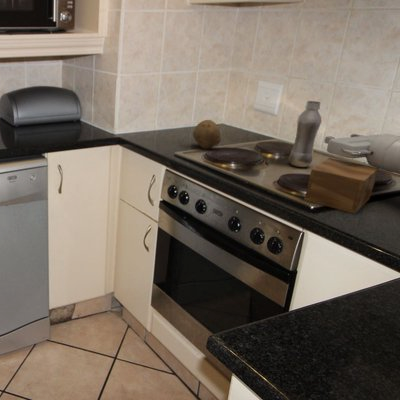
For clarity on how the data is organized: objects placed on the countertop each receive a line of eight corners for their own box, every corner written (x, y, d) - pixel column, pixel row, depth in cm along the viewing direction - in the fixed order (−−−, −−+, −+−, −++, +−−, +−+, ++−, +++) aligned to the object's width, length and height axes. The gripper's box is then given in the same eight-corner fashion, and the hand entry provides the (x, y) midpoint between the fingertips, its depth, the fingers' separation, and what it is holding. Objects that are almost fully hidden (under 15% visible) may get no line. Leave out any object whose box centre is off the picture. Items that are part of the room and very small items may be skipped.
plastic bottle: (314, 167, 149) (330, 103, 141) (303, 170, 145) (318, 105, 138) (294, 161, 154) (309, 99, 146) (283, 165, 150) (297, 101, 143)
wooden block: (321, 187, 132) (329, 157, 129) (369, 199, 125) (378, 168, 122) (303, 200, 124) (311, 168, 120) (354, 213, 116) (364, 180, 113)
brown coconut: (187, 144, 171) (190, 117, 167) (210, 144, 171) (215, 116, 168) (197, 152, 162) (201, 123, 158) (222, 151, 163) (227, 122, 159)
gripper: (351, 167, 121) (308, 151, 134) (410, 160, 127) (363, 146, 139) (358, 143, 119) (313, 129, 131) (417, 137, 125) (369, 124, 137)
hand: (339, 138), depth 135 cm, fingers open, 8 cm apart
